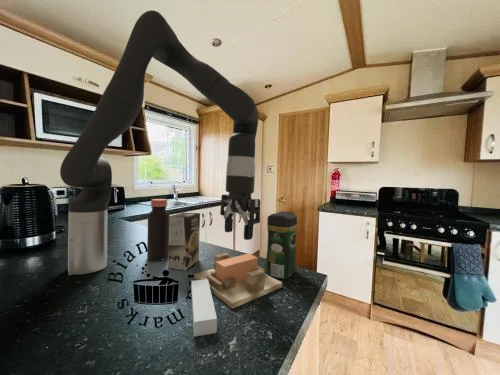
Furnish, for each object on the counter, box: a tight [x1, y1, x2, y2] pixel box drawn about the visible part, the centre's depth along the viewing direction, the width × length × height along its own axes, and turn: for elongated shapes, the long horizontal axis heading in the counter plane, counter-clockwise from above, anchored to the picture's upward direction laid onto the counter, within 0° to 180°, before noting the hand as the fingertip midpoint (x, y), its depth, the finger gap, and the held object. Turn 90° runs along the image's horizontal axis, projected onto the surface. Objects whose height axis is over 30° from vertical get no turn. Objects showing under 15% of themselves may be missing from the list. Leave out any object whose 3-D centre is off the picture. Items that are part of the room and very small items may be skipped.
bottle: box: [146, 198, 171, 262], centre depth 75 cm, size 7×7×20 cm
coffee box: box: [167, 212, 201, 271], centre depth 71 cm, size 9×6×16 cm
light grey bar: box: [190, 279, 218, 337], centre depth 47 cm, size 4×16×3 cm, turn 17°
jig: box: [193, 252, 283, 310], centre depth 59 cm, size 16×18×5 cm
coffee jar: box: [265, 210, 298, 280], centre depth 66 cm, size 10×8×19 cm
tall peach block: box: [215, 253, 258, 287], centre depth 59 cm, size 11×4×5 cm, turn 130°
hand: (237, 235), depth 59 cm, fingers open, 8 cm apart
